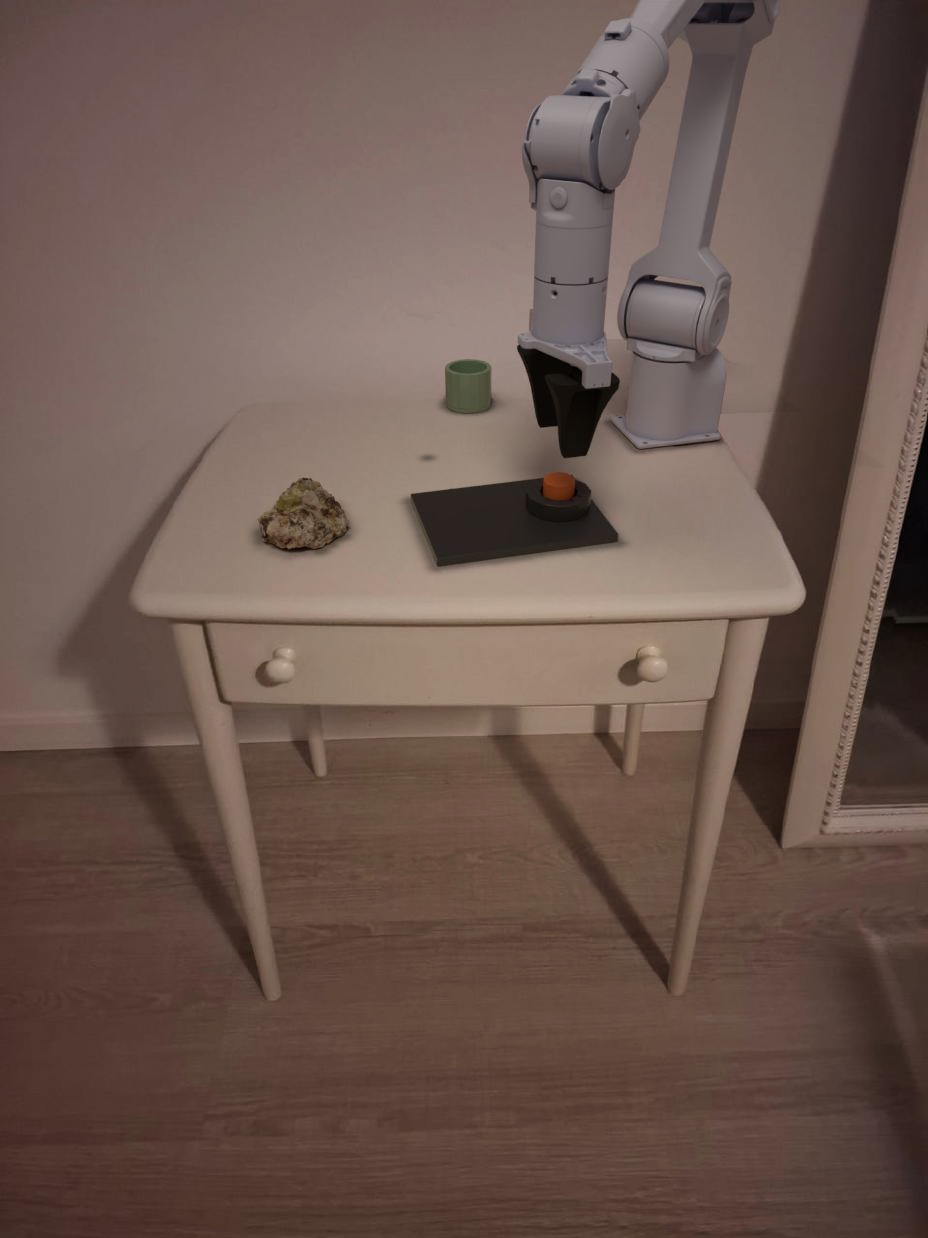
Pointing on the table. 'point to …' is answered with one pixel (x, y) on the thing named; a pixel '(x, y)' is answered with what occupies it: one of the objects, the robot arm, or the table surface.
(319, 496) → the mineral rock
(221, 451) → the table surface
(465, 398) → the cup
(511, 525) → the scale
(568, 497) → the power button
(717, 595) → the table surface
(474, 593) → the table surface
